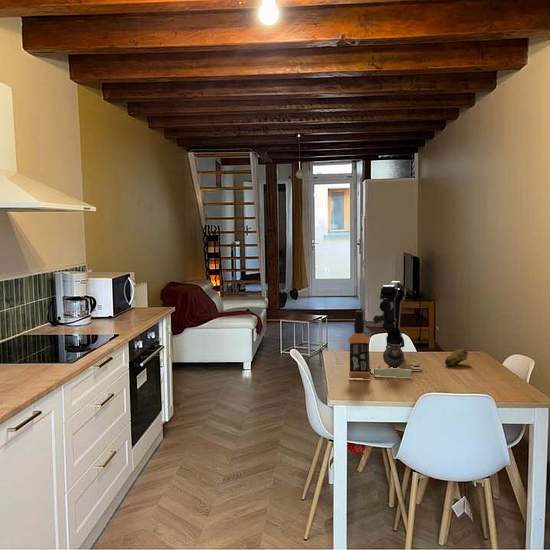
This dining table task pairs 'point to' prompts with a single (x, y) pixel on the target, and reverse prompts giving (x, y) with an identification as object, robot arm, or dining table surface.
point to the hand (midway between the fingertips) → (389, 339)
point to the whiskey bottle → (359, 350)
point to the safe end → (393, 372)
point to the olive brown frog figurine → (456, 357)
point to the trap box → (416, 366)
